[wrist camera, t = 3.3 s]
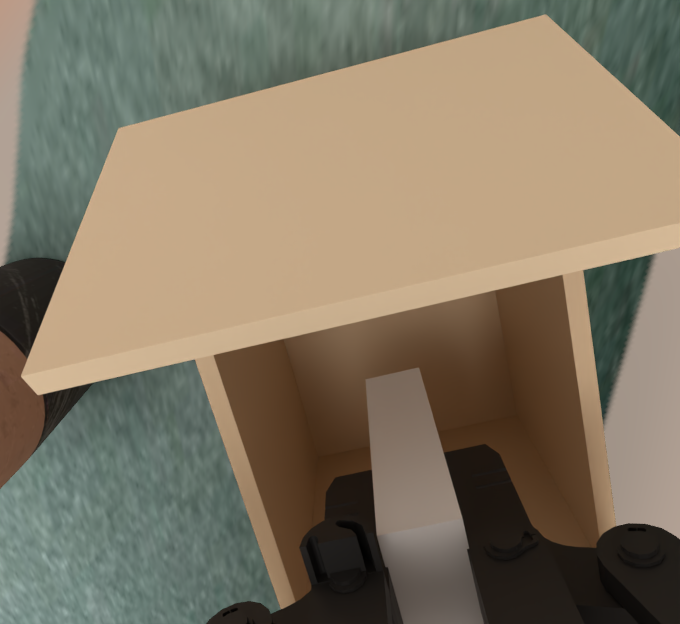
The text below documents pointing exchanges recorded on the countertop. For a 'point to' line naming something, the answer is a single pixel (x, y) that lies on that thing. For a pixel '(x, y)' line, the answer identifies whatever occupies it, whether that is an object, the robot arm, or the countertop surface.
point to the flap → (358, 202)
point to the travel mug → (11, 356)
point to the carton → (446, 405)
